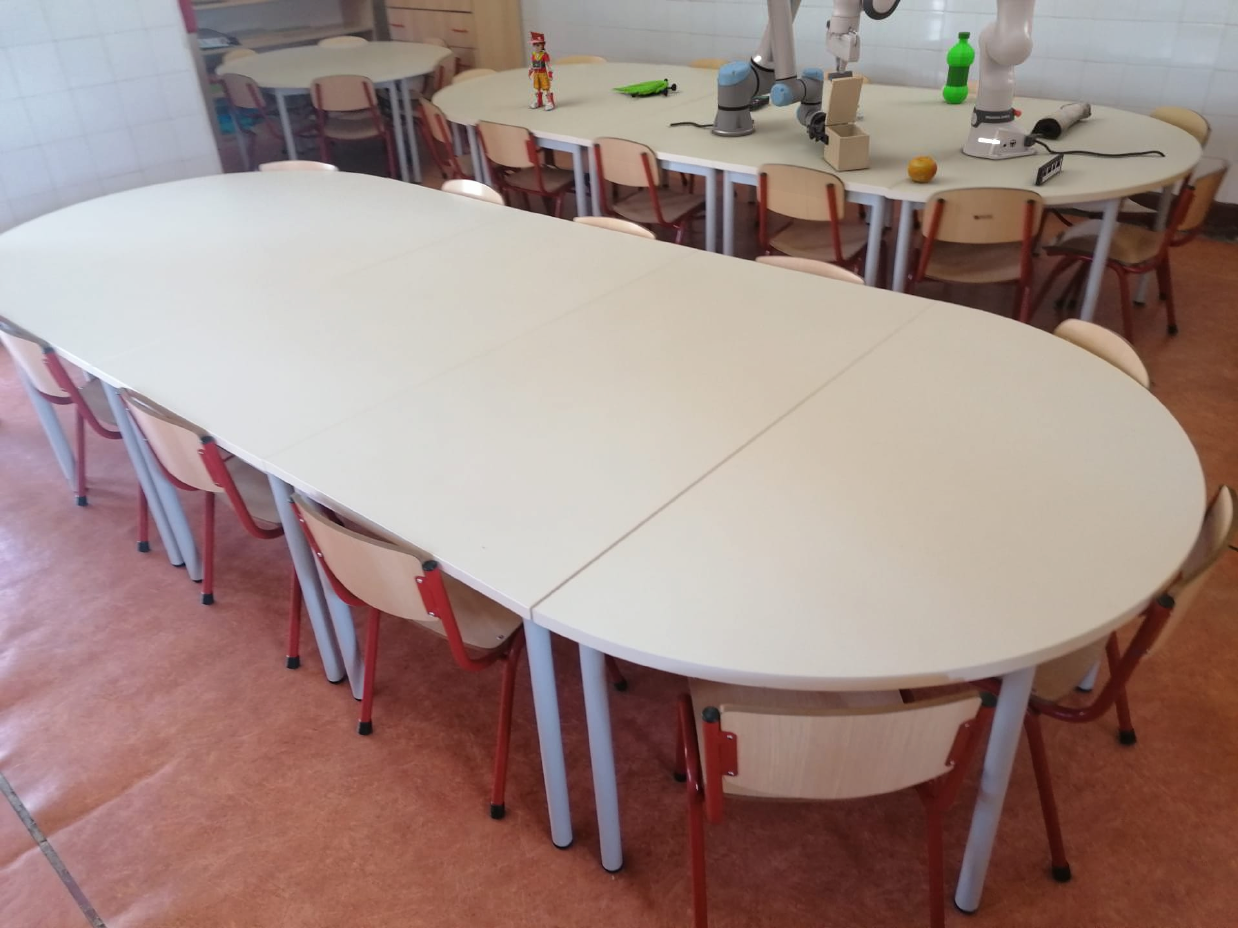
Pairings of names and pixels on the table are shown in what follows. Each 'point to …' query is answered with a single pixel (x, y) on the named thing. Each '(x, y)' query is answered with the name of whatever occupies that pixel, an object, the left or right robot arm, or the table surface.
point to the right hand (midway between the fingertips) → (840, 72)
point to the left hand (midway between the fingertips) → (843, 139)
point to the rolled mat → (1061, 119)
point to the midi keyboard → (1049, 169)
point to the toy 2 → (648, 88)
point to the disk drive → (758, 102)
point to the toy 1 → (541, 71)
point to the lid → (843, 97)
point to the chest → (846, 147)
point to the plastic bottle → (958, 69)
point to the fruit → (922, 169)
